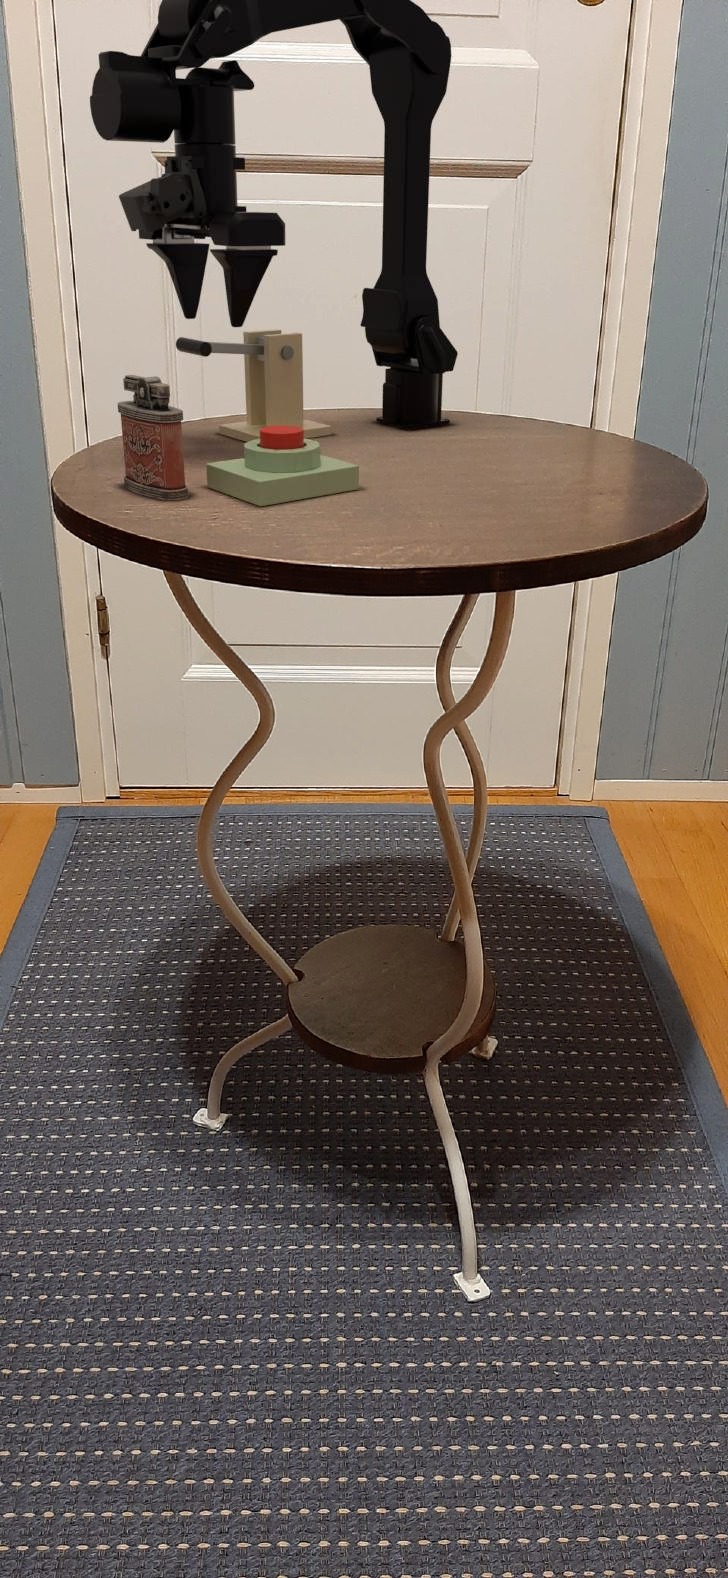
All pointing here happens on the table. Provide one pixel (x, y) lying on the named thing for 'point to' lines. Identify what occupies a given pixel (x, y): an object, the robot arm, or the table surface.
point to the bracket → (274, 388)
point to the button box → (281, 474)
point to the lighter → (152, 440)
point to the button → (281, 437)
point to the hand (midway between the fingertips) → (212, 322)
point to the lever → (220, 347)
